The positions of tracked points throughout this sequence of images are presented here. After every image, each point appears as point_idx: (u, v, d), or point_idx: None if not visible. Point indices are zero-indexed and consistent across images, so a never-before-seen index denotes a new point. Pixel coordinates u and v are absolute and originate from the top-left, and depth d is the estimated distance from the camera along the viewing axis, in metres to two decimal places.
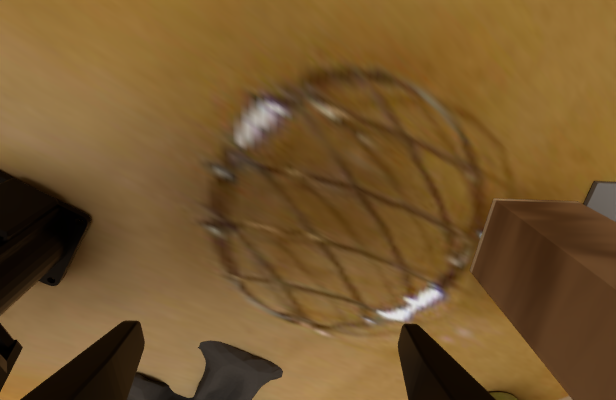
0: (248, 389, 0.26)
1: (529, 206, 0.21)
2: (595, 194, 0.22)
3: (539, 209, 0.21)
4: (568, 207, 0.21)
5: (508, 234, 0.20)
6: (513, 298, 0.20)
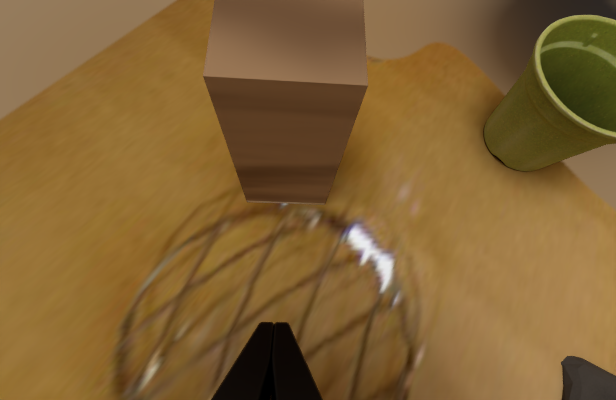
0: None
1: None
2: None
3: None
4: None
5: (262, 191, 0.23)
6: (310, 181, 0.21)
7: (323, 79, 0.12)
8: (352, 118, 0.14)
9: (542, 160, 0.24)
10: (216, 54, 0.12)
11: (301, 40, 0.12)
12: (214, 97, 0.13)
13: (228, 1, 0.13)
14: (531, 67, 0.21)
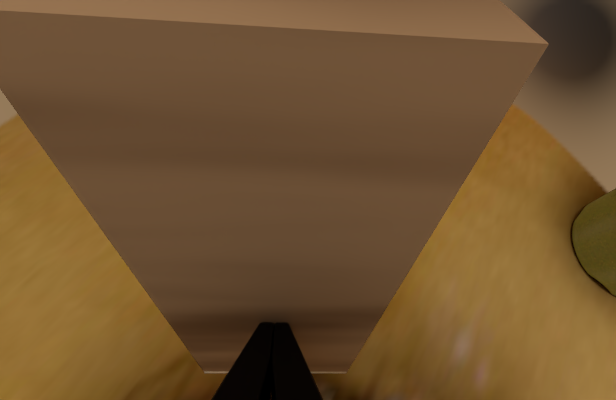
0: None
1: None
2: None
3: None
4: None
5: (230, 356, 0.12)
6: (323, 338, 0.10)
7: (391, 27, 0.03)
8: (451, 185, 0.05)
9: None
10: None
11: None
12: (32, 116, 0.04)
13: None
14: None
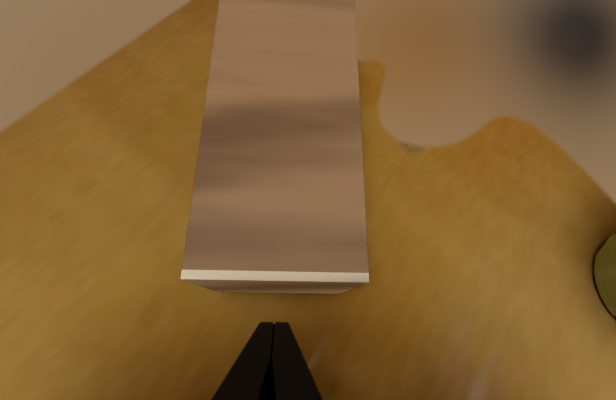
0: None
1: None
2: None
3: None
4: None
5: (231, 207, 0.11)
6: (324, 155, 0.12)
7: None
8: (351, 10, 0.14)
9: None
10: None
11: None
12: None
13: None
14: None
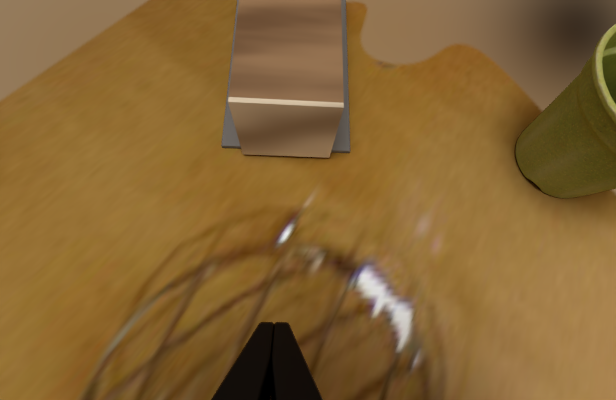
0: None
1: None
2: (233, 143, 0.23)
3: None
4: None
5: (257, 65, 0.17)
6: (317, 37, 0.18)
7: None
8: None
9: (590, 189, 0.20)
10: None
11: None
12: None
13: None
14: (588, 80, 0.17)
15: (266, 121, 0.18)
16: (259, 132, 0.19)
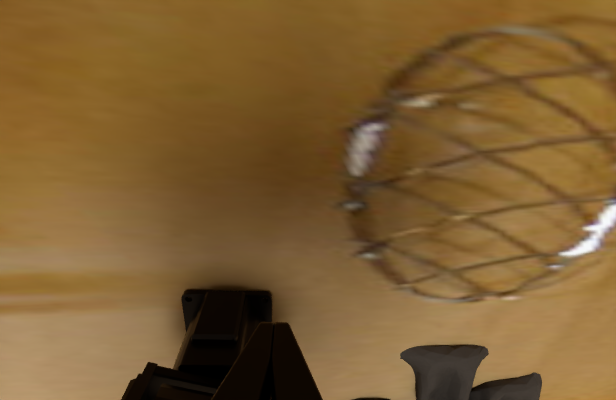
0: (465, 377, 0.27)
1: None
2: None
3: None
4: None
5: None
6: None
7: None
8: None
9: None
10: None
11: None
12: None
13: None
14: None
15: None
16: None
